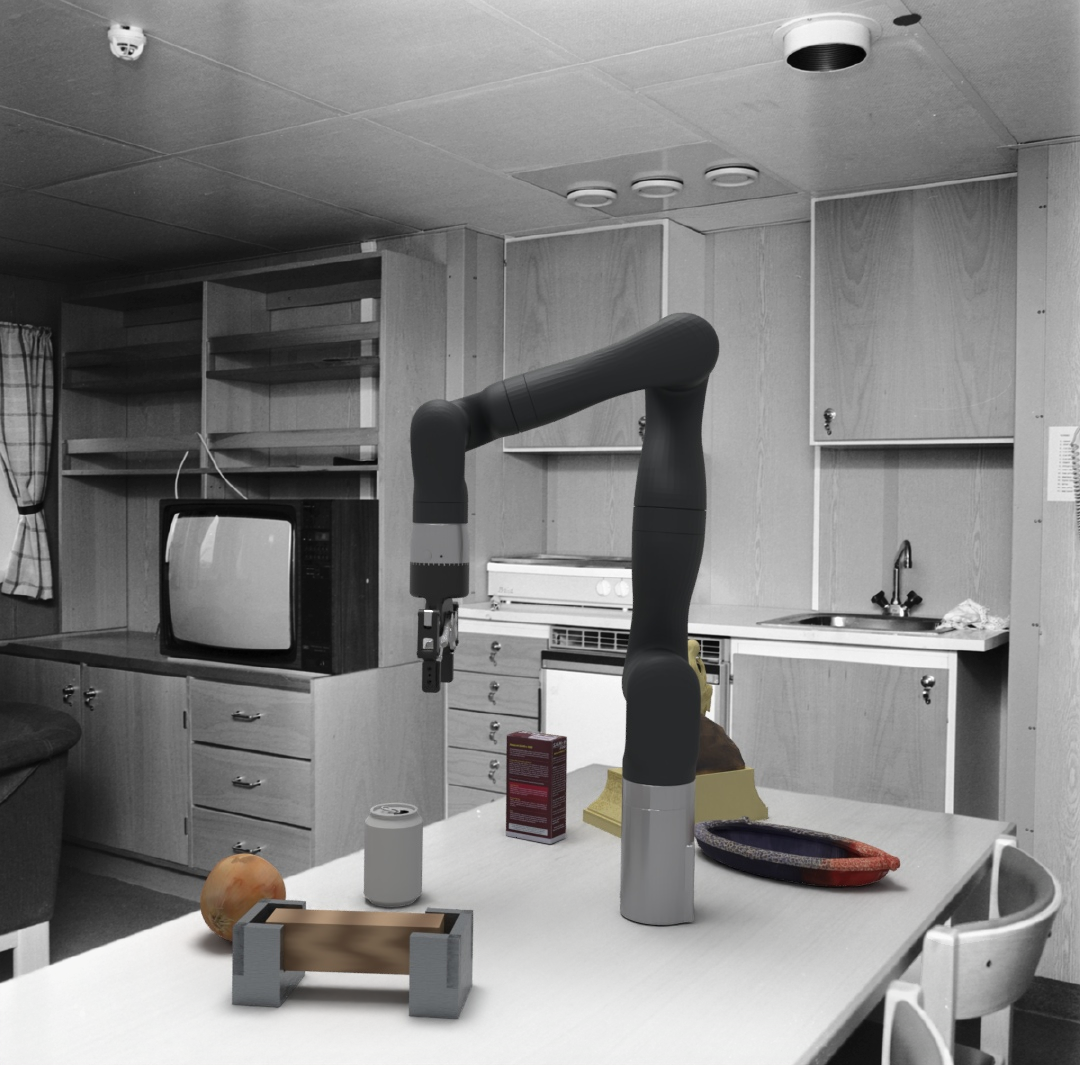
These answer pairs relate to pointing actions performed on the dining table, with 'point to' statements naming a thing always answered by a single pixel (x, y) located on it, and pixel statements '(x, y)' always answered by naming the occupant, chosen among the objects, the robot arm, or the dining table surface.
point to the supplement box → (536, 786)
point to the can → (393, 854)
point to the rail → (351, 939)
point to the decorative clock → (718, 774)
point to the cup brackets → (263, 982)
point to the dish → (793, 853)
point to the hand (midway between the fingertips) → (438, 687)
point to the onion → (238, 891)
